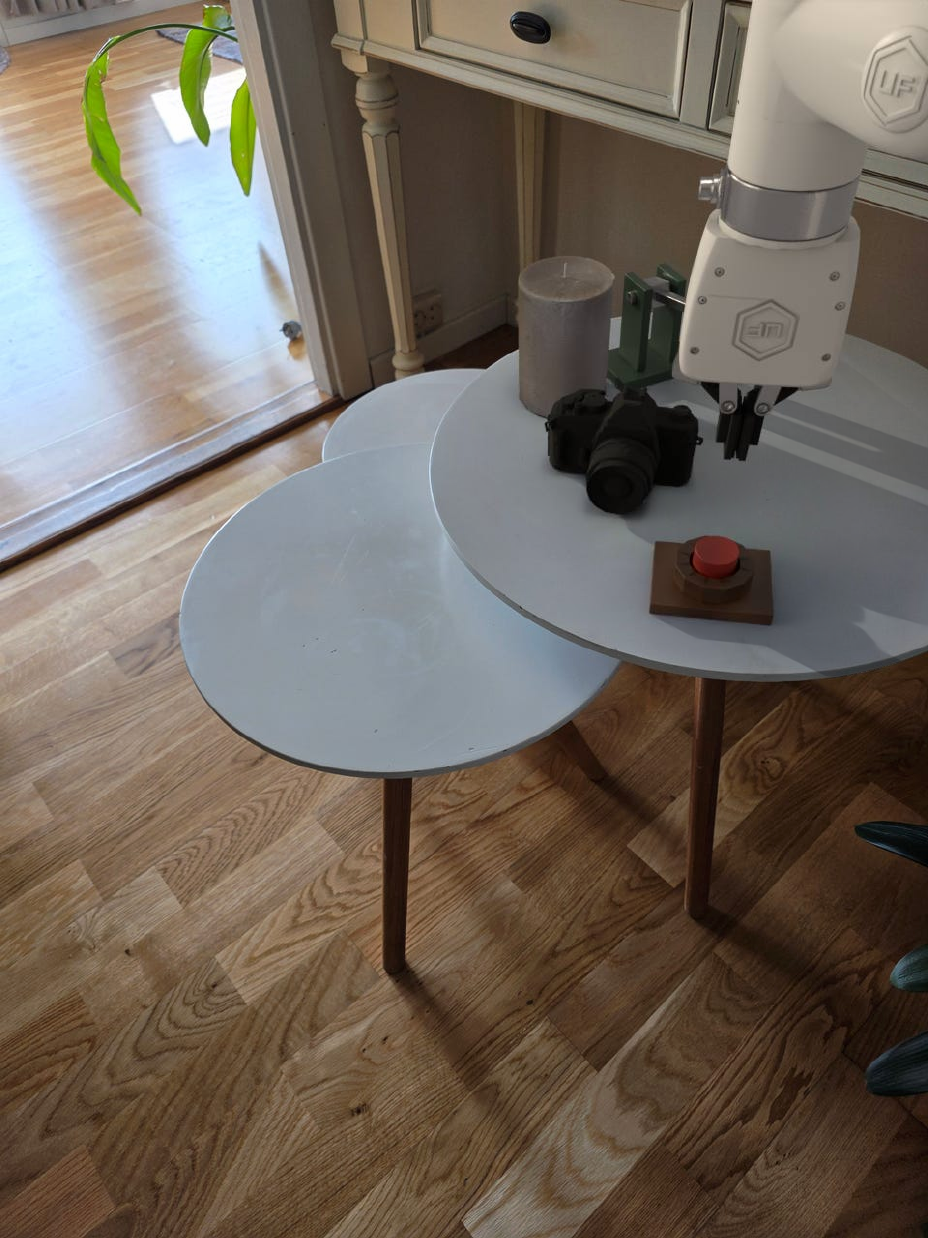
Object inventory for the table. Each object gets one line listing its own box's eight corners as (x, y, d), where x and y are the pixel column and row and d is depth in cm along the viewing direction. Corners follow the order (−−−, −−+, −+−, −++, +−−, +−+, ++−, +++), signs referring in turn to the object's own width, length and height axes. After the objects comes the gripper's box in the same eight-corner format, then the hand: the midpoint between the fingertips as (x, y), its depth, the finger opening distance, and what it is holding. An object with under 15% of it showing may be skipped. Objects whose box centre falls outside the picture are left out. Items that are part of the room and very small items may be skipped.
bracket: (700, 370, 99) (714, 278, 91) (622, 392, 97) (629, 301, 89) (668, 342, 104) (679, 252, 96) (593, 363, 101) (597, 273, 94)
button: (735, 552, 75) (739, 537, 74) (736, 581, 73) (739, 566, 71) (692, 548, 76) (695, 533, 74) (691, 577, 73) (694, 562, 72)
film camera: (530, 505, 85) (529, 428, 78) (552, 447, 91) (553, 371, 84) (688, 528, 81) (700, 449, 75) (700, 466, 87) (713, 388, 81)
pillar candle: (515, 375, 101) (512, 247, 90) (599, 367, 101) (606, 238, 90) (524, 423, 94) (522, 291, 83) (613, 415, 94) (623, 282, 83)
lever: (767, 333, 83) (769, 307, 81) (712, 348, 81) (713, 323, 80) (671, 294, 96) (671, 271, 95) (623, 307, 95) (622, 284, 93)
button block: (767, 560, 78) (774, 534, 75) (770, 625, 72) (778, 600, 70) (654, 550, 79) (657, 525, 77) (648, 613, 74) (652, 588, 72)
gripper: (656, 222, 51) (630, 472, 64) (930, 229, 48) (843, 489, 62) (662, 171, 56) (637, 414, 69) (911, 175, 53) (834, 426, 67)
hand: (734, 448), depth 65 cm, fingers closed
